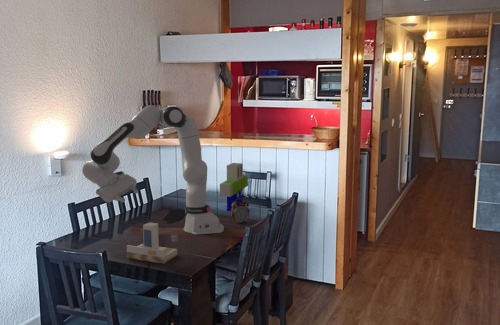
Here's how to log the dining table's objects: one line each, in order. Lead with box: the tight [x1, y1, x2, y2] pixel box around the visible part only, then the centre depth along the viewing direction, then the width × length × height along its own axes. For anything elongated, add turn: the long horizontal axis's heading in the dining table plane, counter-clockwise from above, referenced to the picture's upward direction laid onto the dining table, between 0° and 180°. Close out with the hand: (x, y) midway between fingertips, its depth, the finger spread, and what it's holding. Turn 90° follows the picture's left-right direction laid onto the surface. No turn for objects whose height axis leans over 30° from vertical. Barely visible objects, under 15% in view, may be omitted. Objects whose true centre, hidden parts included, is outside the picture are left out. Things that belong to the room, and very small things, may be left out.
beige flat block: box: [126, 243, 178, 264], centre depth 224 cm, size 20×12×6 cm, turn 69°
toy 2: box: [219, 162, 249, 213], centre depth 306 cm, size 34×7×30 cm, turn 161°
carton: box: [142, 221, 160, 250], centre depth 223 cm, size 5×5×13 cm
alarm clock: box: [229, 197, 250, 225], centre depth 279 cm, size 11×5×15 cm, turn 115°
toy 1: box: [161, 209, 186, 225], centre depth 293 cm, size 12×1×30 cm
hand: (130, 196), depth 230 cm, fingers open, 8 cm apart
